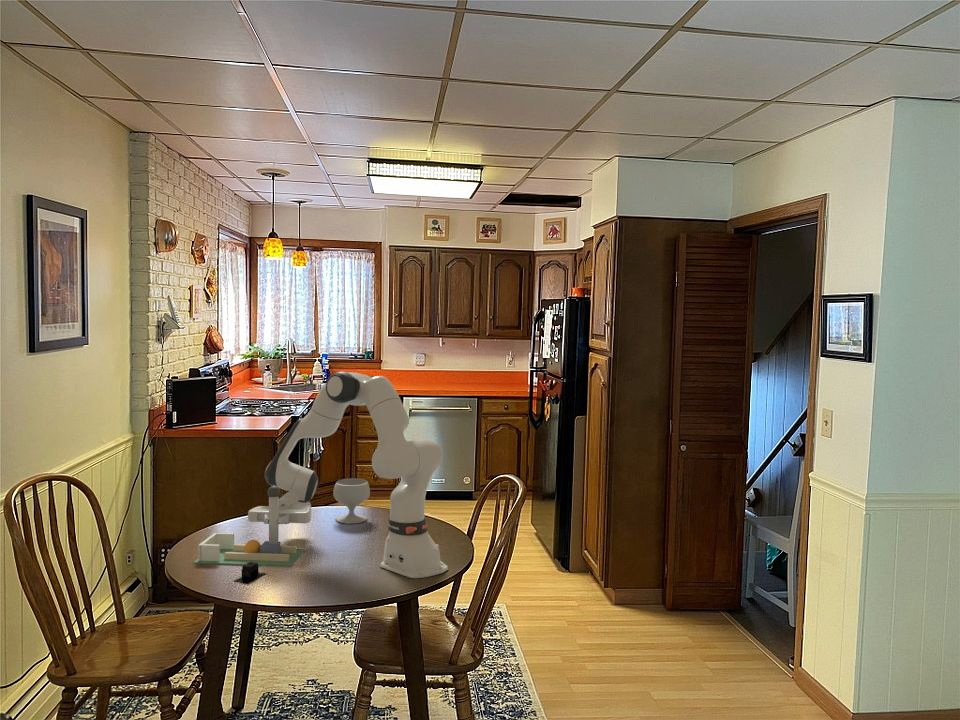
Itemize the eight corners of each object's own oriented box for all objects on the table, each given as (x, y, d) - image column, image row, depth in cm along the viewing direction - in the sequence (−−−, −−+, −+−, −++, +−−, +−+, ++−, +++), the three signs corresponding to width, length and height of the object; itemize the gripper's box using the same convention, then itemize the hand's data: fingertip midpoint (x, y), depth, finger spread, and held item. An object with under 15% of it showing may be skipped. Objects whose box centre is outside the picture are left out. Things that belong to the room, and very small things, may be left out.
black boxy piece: (253, 570, 219) (253, 556, 218) (273, 574, 216) (273, 559, 216) (226, 584, 207) (226, 569, 207) (246, 588, 204) (246, 572, 204)
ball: (263, 556, 229) (263, 540, 229) (247, 558, 226) (247, 543, 226) (257, 551, 233) (257, 536, 233) (242, 554, 230) (242, 539, 230)
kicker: (282, 552, 232) (282, 484, 230) (277, 557, 227) (277, 487, 225) (265, 551, 232) (265, 483, 231) (260, 556, 227) (260, 487, 226)
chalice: (371, 524, 269) (372, 485, 268) (334, 526, 265) (335, 486, 264) (367, 514, 282) (367, 477, 282) (331, 516, 278) (332, 478, 278)
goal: (298, 550, 236) (298, 535, 235) (286, 563, 223) (286, 547, 222) (214, 547, 236) (214, 532, 236) (198, 560, 223) (198, 545, 223)
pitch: (305, 550, 237) (305, 548, 237) (291, 566, 221) (291, 565, 221) (213, 547, 238) (213, 545, 238) (193, 563, 222) (193, 562, 222)
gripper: (255, 500, 242) (240, 510, 228) (315, 501, 241) (304, 512, 227) (255, 518, 242) (240, 530, 228) (315, 520, 241) (303, 532, 228)
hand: (272, 521), depth 228 cm, fingers closed on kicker, 3 cm apart
